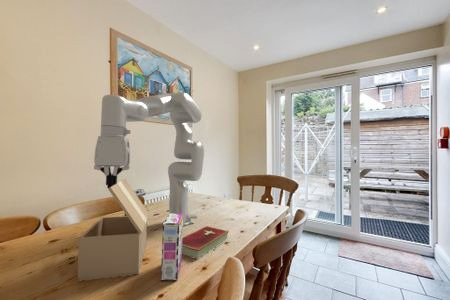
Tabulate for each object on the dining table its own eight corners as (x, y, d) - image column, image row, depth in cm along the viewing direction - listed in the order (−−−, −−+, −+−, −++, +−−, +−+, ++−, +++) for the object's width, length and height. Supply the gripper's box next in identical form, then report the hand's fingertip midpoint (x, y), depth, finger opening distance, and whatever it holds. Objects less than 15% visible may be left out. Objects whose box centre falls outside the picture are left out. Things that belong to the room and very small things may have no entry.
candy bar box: (178, 281, 61) (179, 223, 61) (160, 281, 61) (161, 223, 61) (182, 261, 72) (183, 212, 73) (167, 261, 72) (168, 212, 72)
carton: (146, 245, 84) (146, 214, 84) (138, 274, 64) (139, 234, 64) (100, 249, 80) (101, 217, 80) (77, 281, 60) (78, 238, 61)
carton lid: (147, 214, 84) (149, 213, 84) (139, 233, 64) (142, 232, 65) (123, 179, 82) (125, 178, 82) (107, 188, 62) (110, 187, 63)
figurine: (149, 216, 122) (150, 189, 122) (130, 221, 113) (130, 192, 113) (140, 213, 128) (141, 187, 128) (121, 217, 118) (122, 190, 118)
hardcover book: (172, 252, 80) (172, 241, 80) (205, 234, 98) (205, 225, 98) (197, 261, 73) (198, 249, 73) (228, 240, 91) (228, 230, 91)
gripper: (139, 134, 78) (137, 185, 77) (93, 132, 74) (90, 186, 74) (135, 132, 70) (132, 189, 70) (84, 130, 67) (81, 189, 67)
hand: (111, 187), depth 72 cm, fingers closed
